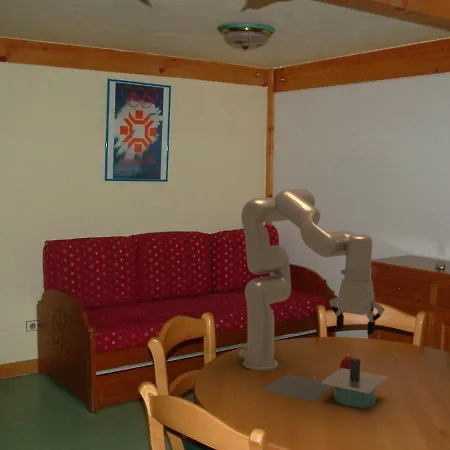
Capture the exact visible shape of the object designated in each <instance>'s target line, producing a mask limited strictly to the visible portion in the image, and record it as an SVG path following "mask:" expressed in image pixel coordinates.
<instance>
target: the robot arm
mask: <svg viewBox="0 0 450 450" xmlns="http://www.w3.org/2000/svg"><path fill="white" fill-rule="evenodd" d="M315 206H316V200H315V197H314V195H313V194H312V192H311V191H309V189H304V188H298V189H297V188H293V189H291V188H289V189H284V190H280V191H279V192H278V193H277V194H275V197H258V198H257V197H256V198H253V199H249V201H246V203H245V204H244V206H243V208H242V211H241V224H242V227H243V232H244V239H245V240H244V241H245V253H246V264H247V268H248V271H249V272H250V273H251V274H253V275H261V274H269V276H263V277H257V278H253V279H251V280H249V282H247V284H245V287H244V288H245V289H244V295H245V302H246V307H247V309H246V310H247V350H245V349H240V350H239V351H238V357H241V358H243V362H242V366H243V365H244V366H245V367H244V366H243V367H244V368H246V369H248V368H249V370H255V371H269V370H273V369H277V368H278V366H279V362H278V361H277V360H276V359H275V314H274V312H273V310H272V308H271V306H270V305H271V304H275V303H280V302H284V301H287V300H288V299H289V298H290V296H291V292H292V282H291V281H292V280H291V267H290V265H291V264H290V258H289V256H288V255H289V254H288V252H287V251H286V249H284V247H282V246H281V245H271V244H270V234H269V232H268V231H269V230H268V229H267V228H266V226H265V225H264V223H268V222H269V223H272V222H285V221H289V222H290V223H292V224H294V225H295V226H296V227H297V228H298V229H299V233H300V236H301V239H302V241H303V242H304V244H305V245H306V246H307V247H308V248H310V250H312V251H313V252H314V253H315V254H317V255H318V256H321V257H324V258H333V257H341V256H345V266H344V267H345V268H344V269H342V270H341V271H340V274H341V275H343V276H344V278H342V279H341V281H340V285H339V291H338V292H339V293H338V296H337V297H335V298H332V299H330V300H329V301H328V302H329V305H330V307H331V310H332V312H334V315H335V316H336V323H335V324H336V326H337V327H336V328H337V330H341V329H343V328H344V324H345V323H344V321H345V320H344V319H345V315H344V313H346V314H350V315H351V314H352V315H358V316H366V318H367V319H368V320H369V321H368V322H367V329H366V330H367V335H368V336H371V335H372V334H373V333H374V332H375V330H376V321H377V320H378V319H379V318H381V317H382V315H383V313H384V312H385V311H386V310H385V307H383V306H382V305H381V304H379V303H378V302H376V301H375V293H374V292H375V291H374V290H375V289H374V285H373V283H374V282H373V280H371V277H372V275H371V273H372V255H373V254H372V253H373V240H372V239H373V238H372V236H369V235H367V234H357V233H355V232H353V231H349V230H341V231H339V230H337V231H329V232H328V231H327V232H326V231H325V230H323V229H322V228H321V227H319V226H318V223H319V222H320V219H321V212H320V210H319V209H318V208H316V207H315ZM336 303H337V304H336ZM374 309H376V310H377V311H376V313H375V312H374Z"/></svg>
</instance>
